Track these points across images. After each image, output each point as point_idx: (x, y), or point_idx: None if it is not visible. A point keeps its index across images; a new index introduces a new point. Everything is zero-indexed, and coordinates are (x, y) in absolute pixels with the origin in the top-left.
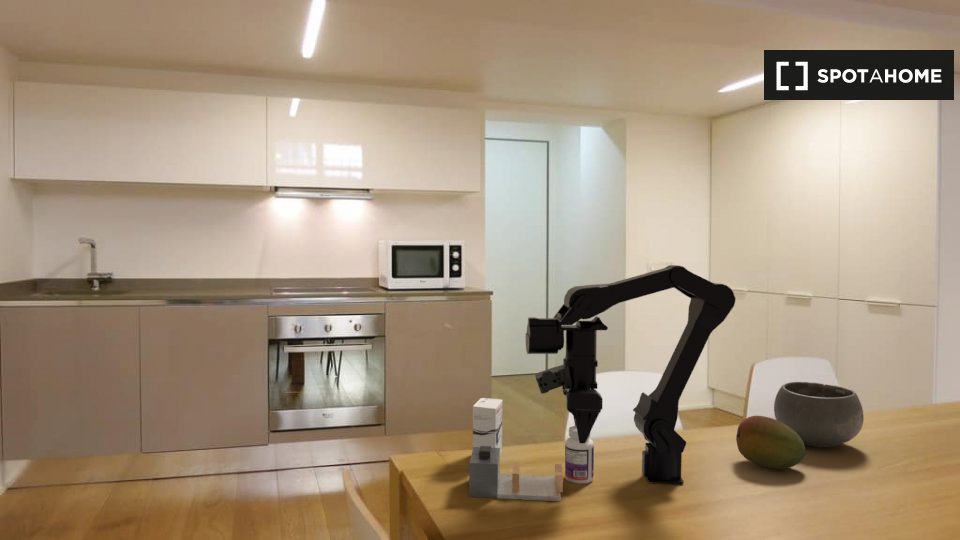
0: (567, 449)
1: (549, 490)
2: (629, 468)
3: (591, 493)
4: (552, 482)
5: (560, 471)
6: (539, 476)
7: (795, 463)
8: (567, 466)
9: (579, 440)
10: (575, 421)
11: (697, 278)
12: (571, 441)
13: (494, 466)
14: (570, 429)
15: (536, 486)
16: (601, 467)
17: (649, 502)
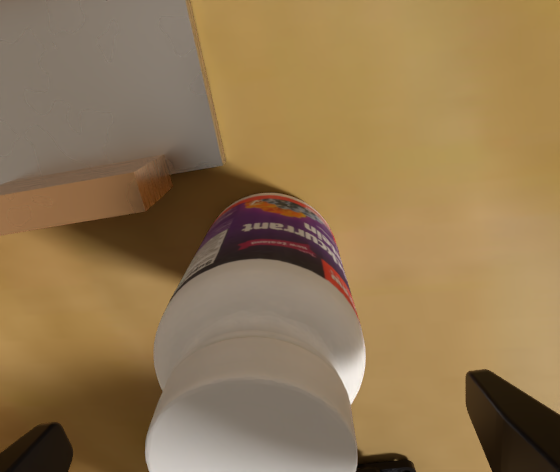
0: (194, 273)
1: (11, 149)
2: (444, 419)
3: (125, 308)
4: (121, 149)
5: (15, 222)
6: (181, 64)
7: None
8: (215, 229)
9: (17, 441)
10: (500, 423)
11: None
12: (188, 333)
13: None
14: (189, 394)
15: (31, 72)
16: (443, 327)
17: (125, 466)
